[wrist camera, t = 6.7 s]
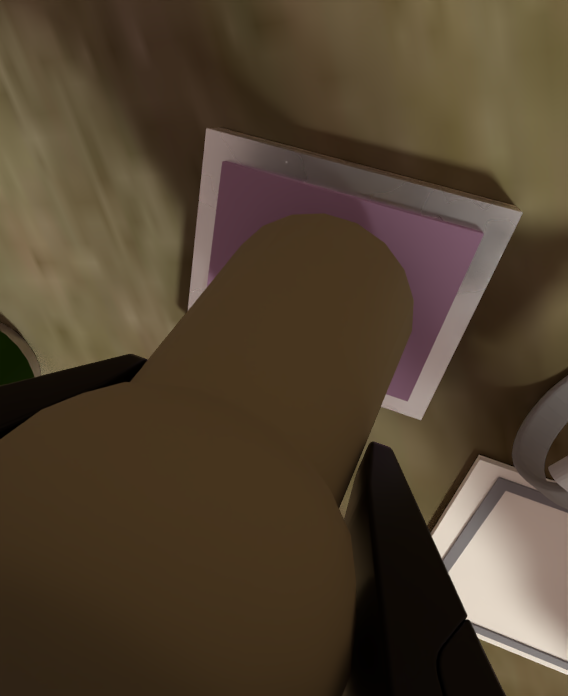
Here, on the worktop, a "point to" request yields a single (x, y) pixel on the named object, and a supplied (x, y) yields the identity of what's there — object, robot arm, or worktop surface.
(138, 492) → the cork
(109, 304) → the worktop surface
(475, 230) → the ink pad
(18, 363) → the green drink can
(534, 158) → the worktop surface
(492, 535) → the marked card
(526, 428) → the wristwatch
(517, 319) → the worktop surface
